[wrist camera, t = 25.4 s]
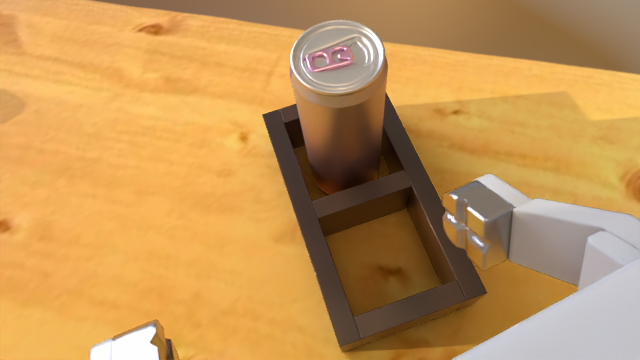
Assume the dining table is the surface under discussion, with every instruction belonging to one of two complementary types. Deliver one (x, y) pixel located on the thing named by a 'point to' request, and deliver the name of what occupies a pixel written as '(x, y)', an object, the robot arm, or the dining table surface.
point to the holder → (367, 204)
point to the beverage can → (340, 101)
